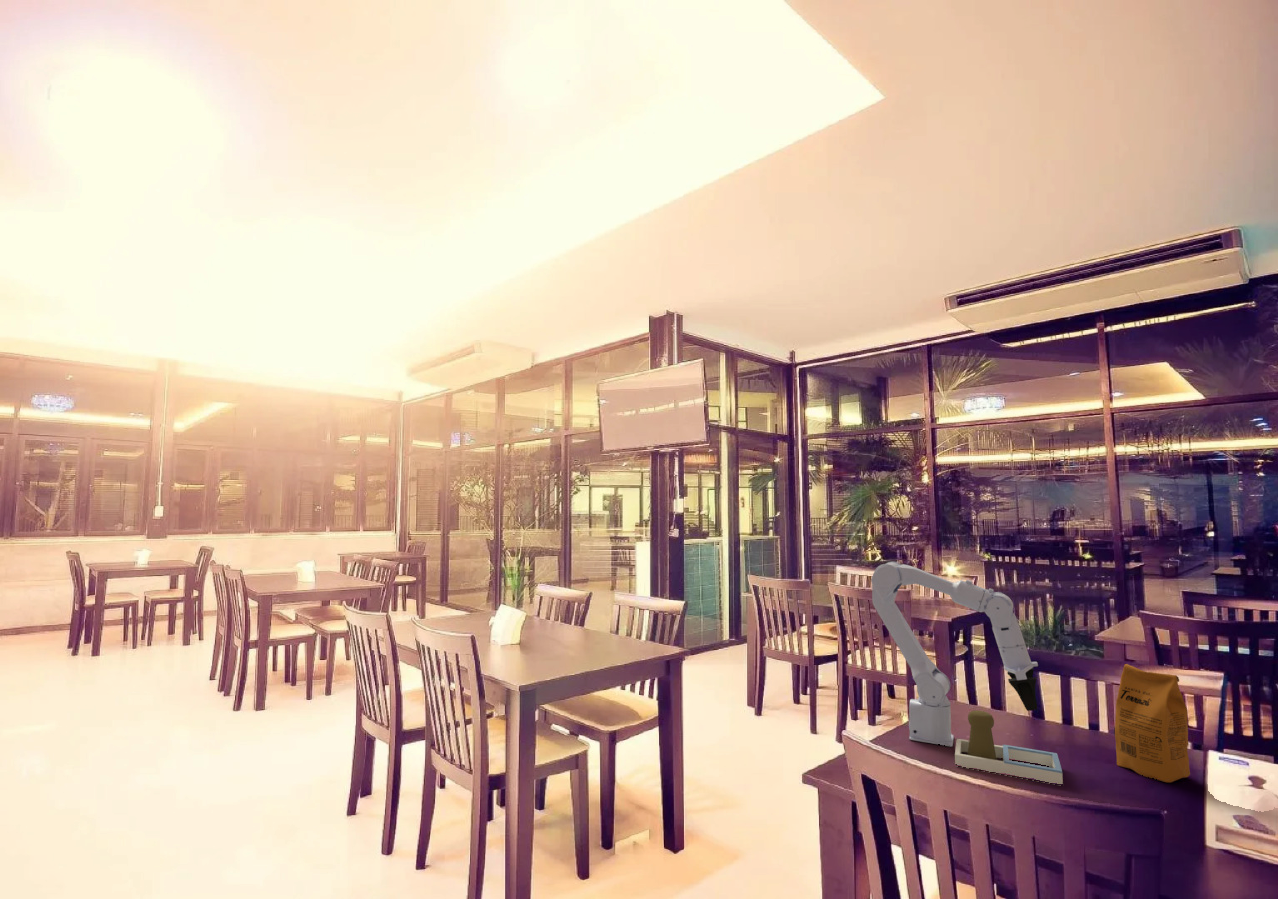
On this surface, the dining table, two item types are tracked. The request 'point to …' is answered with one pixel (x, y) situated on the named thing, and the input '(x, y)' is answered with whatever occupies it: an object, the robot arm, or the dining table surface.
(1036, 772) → the tray
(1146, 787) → the dining table surface
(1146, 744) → the coffee package
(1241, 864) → the dining table surface
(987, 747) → the olive tall tapered piece
